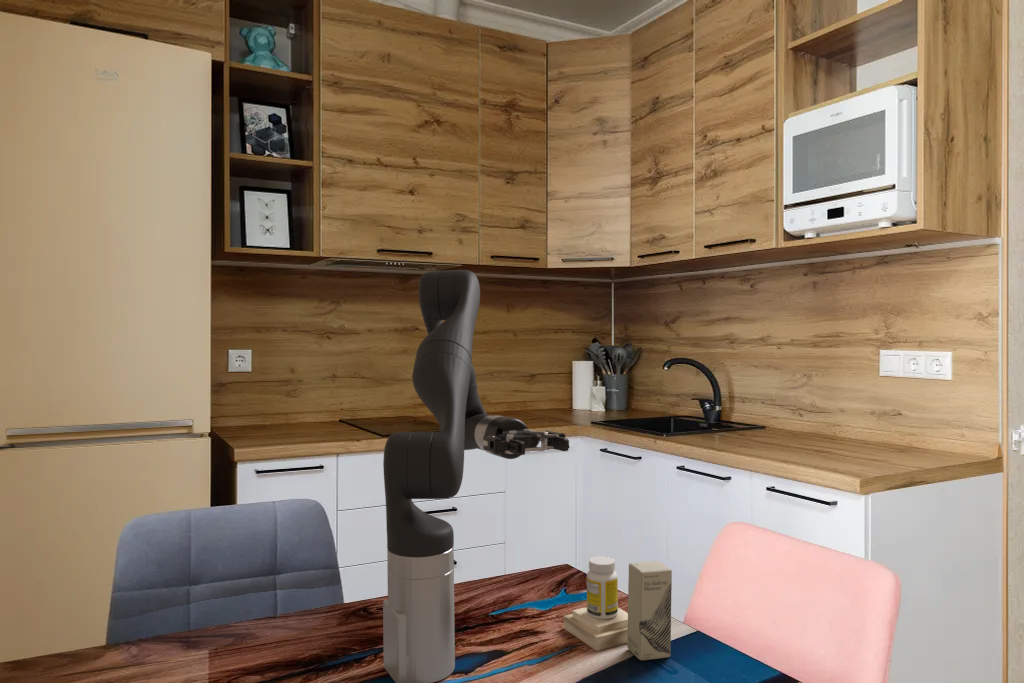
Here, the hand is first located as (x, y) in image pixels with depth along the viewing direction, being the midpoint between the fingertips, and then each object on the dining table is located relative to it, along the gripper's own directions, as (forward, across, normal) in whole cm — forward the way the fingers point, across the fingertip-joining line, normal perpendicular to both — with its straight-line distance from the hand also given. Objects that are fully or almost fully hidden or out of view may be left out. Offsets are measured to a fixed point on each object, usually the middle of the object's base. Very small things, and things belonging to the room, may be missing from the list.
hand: (545, 446), depth 120 cm
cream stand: (+12, +3, +28) cm, 30 cm away
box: (+21, +5, +28) cm, 35 cm away
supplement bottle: (+12, +3, +25) cm, 28 cm away
